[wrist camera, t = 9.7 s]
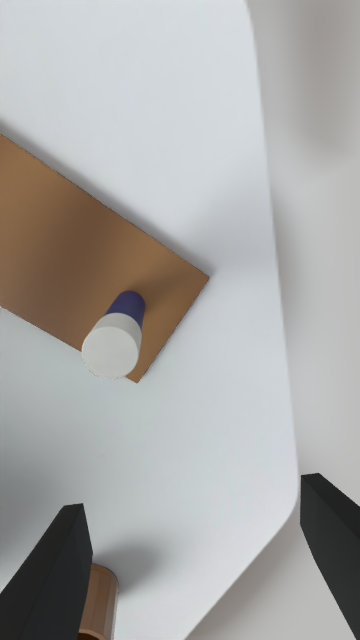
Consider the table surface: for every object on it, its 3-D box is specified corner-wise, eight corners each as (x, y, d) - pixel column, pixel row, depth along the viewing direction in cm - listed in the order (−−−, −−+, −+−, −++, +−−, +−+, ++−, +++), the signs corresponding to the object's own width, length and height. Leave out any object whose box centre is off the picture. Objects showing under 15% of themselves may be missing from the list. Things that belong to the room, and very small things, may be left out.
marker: (144, 288, 18) (135, 323, 10) (147, 319, 18) (142, 376, 10) (111, 291, 18) (76, 329, 10) (115, 323, 18) (86, 382, 10)
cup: (114, 559, 23) (105, 623, 19) (122, 603, 24) (116, 672, 20) (52, 568, 23) (31, 634, 19) (64, 613, 24) (46, 684, 20)
